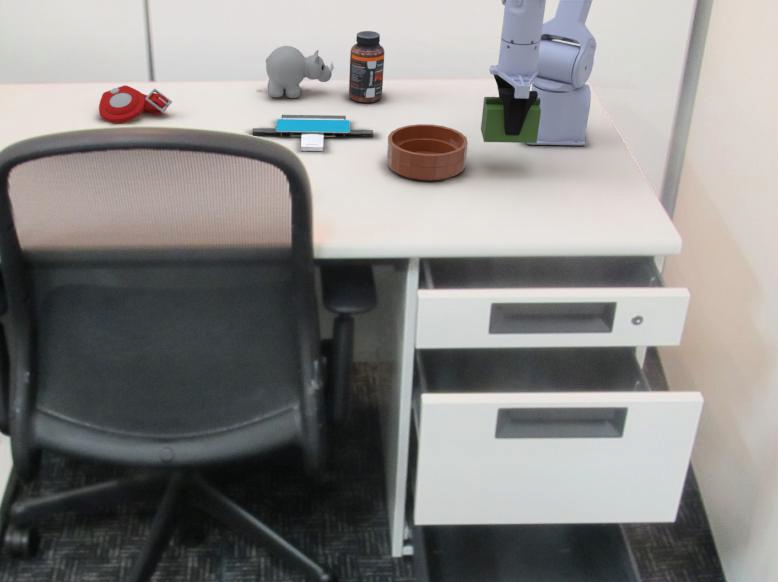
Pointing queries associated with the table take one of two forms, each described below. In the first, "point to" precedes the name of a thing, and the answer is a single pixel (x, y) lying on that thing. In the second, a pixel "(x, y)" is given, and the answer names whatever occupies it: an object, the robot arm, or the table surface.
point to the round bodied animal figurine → (293, 71)
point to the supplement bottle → (366, 68)
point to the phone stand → (312, 129)
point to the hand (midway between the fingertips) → (509, 127)
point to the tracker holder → (130, 104)
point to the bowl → (426, 152)
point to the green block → (495, 123)
